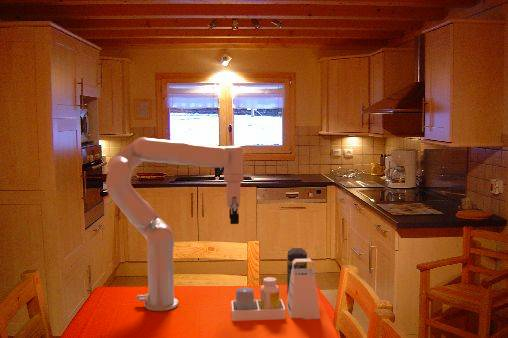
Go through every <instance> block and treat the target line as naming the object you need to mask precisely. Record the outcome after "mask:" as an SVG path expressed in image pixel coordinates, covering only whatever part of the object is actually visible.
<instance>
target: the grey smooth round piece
mask: <svg viewBox="0 0 508 338" xmlns="http://www.w3.org/2000/svg"><path fill="white" fill-rule="evenodd" d="M254 295H255V291H254V289H253V288H251V287H245V286H244V287H240V288H239V287H238V288H237V289H236V290H235V301H236V310H254V300H255V299H254V298H255V296H254Z"/></svg>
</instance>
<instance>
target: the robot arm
mask: <svg viewBox="0 0 508 338" xmlns="http://www.w3.org/2000/svg"><path fill="white" fill-rule="evenodd" d="M143 162H149V163H162V164H163V163H164V164H172V165H184V166H195V167H196V166H197V167H208V168H209V167H210V168H223V182H224V183H226V207H227V208H228V211H229V212H228V213H229V216H228V217H229V220H230V221H229V223H230V225H238V224H239V223H240V218H239V217H240V214H239V208H240V205H241V183H244V148H243V147H242V146H240V145H228V146H227V145H226V146H218V145H209V146H207V145H197V144H193V143H189V142H185V141H180V140H171V139H170V140H169V139H160V138H159V139H158V138H150V137H149V138H148V137H146V136H142V137H138V138H136V139H135V140H133V141H132V142H131V143H129V144H128V145H127V146H125V147H124V148H122V149H120V151H118V152H117V153H116V154H114V155H113V156H112V157H111V158H110V159H109V160H108V162H107V164H106V171H107V175H106V179H105V182H106V183H105V186H106V190H107V193H108V195H109V197H110V199H111V201H113V202H114V204H115V205H116V206H117V207H118V208H119V210H120V211H121V212H122V213H123V215H125V217H126V219H127V221H128V222H130V224H132V225H133V226H134V227H135V229H136V230H137V231H139V233H140V234H141V235H142V236H143V237H144V238H145V240H146V241H147V282H148V283H147V288H148V291H147V292H148V293H145V294H136V301H138V302H144V308H145V309H146V310H148V311H151V312H152V311H153V312H166V311H170V310H173V309H175V308H176V307H177V306H179V300H178V299H177V298H175V284H174V283H175V282H174V281H175V280H174V278H175V277H174V246H175V234H174V232H173V230H172V228H171V227H170V225H168V224H167V223H166V222H165V221H164V220H163V219H162V218H161V216H160V215H159V214H158V213H157V212H156V211H155V209H154V208H153V207H152V205H151V204H150V203H149V202H147V200H145V199H144V198H142V196H141V195H140V194H139V193H138V191H137V190H136V189H135V187H133V185H132V182H131V180H132V176H133V173H134V169H135V168H137V167H138V166H140V165H141V164H143ZM239 225H240V224H239Z"/></svg>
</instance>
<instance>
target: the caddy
mask: <svg viewBox="0 0 508 338" xmlns="http://www.w3.org/2000/svg"><path fill="white" fill-rule="evenodd" d="M230 303H231V318H232V321H233V322H241V321H265V320H267V321H269V320H272V321H273V320H285V319H286V308H285V307H286V306H285V304H284V302H283V299H282V298H281V299H280V298H279V309H265V310H261V299H254V310H236V300H231V301H230Z"/></svg>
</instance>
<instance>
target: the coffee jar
mask: <svg viewBox="0 0 508 338" xmlns="http://www.w3.org/2000/svg"><path fill="white" fill-rule="evenodd" d="M307 253H308V252H307V251H306V250H305V249H304V248H302V247H292V248H291V249H289V250H288V251H287V254H286V255H287V257H286V258H287V259H286V261H287V262H286V268H287V269H286V278H287V279H286V286H287V287H286V289H287V290H286V291H287V292H286V293H287V294H288V291H289V283H290V276H291V269H292V261H293V260H294V259H308V254H307ZM307 264H308V262H296V263H295V264H294V269H302V268H308V265H307ZM295 275H297V273H296V274H295ZM298 275H300V273H299V274H298ZM301 275H307V273H305V274H303V273H302V274H301Z"/></svg>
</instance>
